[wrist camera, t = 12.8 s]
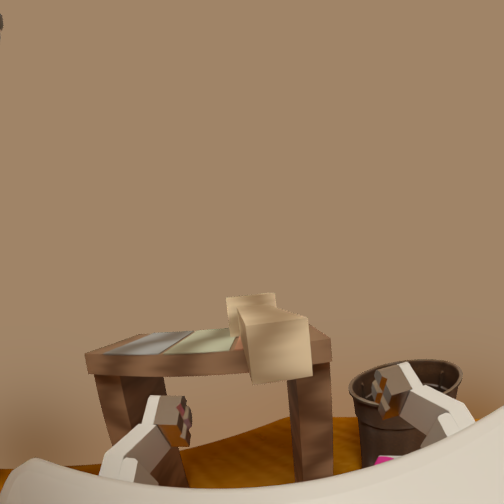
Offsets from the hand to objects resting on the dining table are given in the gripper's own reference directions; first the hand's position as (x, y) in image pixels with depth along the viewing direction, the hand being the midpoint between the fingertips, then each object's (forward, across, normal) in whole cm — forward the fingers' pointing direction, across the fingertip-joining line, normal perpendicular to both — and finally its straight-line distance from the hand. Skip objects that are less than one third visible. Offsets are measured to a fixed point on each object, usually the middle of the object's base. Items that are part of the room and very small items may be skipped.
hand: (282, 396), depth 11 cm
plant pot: (+6, -18, +34) cm, 39 cm away
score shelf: (+3, +6, +32) cm, 33 cm away
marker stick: (+11, +1, +6) cm, 13 cm away
